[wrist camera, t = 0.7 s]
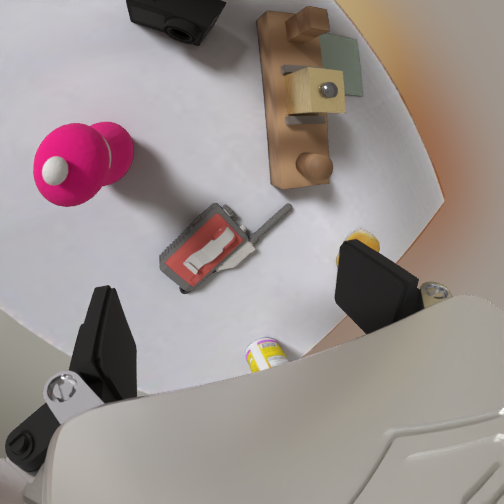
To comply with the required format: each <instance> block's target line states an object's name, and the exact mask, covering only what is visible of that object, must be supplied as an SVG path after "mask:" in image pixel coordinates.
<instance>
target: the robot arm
mask: <svg viewBox="0 0 504 504" xmlns="http://www.w3.org/2000/svg"><path fill="white" fill-rule="evenodd" d="M418 281H419V279H418V278H417V277H415V276H413V275H412V274H411V273H409V272H408V271H406V270H405V269H403V268H401V267H400V266H399V265H397V264H395V263H394V262H392V261H391V260H389V259H388V258H386V257H385V256H383V255H382V254H380V253H378V252H377V251H375V250H374V249H372V248H370V247H369V246H367V245H366V244H364V243H362V242H361V241H359V240H357V239H352V240H347V241H344V242H343V244H342V245H341V246H340V251H339V262H338V272H337V281H336V290H335V301H336V303H337V305H338V306H339V307H340V308H341V309H342V310H343V311H344V312H345V313H346V314H347V315H348V316H349V317H350V318H352V320H353V321H354V322H355V323H356V324H357V325H358V326H359V327H360V328H361V329H362V330H363V331H364V332H365V333H366V335H364V336H361V337H359V338H356V339H354V340H351V341H348V342H346V343H343V344H341V345H338V346H335V347H333V348H330V349H327V350H324V351H321V352H318V353H315V354H313V355H310V356H307V357H304V358H301V359H297V360H294V361H291V362H288V363H285V364H281V365H278V366H275V367H271V368H268V369H264V370H261V371H257V372H254V373H250V374H246V375H242V376H238V377H234V378H230V379H226V380H222V381H218V382H213V383H209V384H204V385H200V386H195V387H190V388H185V389H179V390H174V391H168V392H162V393H157V394H152V395H146V396H141V397H137V374H136V355H137V350H136V344H135V341H134V339H133V336H132V333H131V331H130V328H129V326H128V323H127V320H126V318H125V315H124V312H123V309H122V306H121V303H120V300H119V297H118V294H117V291H116V289H115V288H112V289H111V287H110V286H109V285H107V286H102V287H96V288H95V289H94V292H93V295H92V298H91V302H90V305H89V308H88V311H87V315H86V318H85V321H84V324H81V326H80V329H79V332H78V336H77V339H76V343H75V347H74V351H73V355H72V359H71V363H70V367H69V371H61V372H58V373H56V374H54V375H53V376H51V377H50V378H49V379H48V380H47V382H46V384H45V386H44V389H43V396H44V399H45V401H46V403H45V404H44V405H43V406H41V407H40V408H39V409H38V410H37V411H35V412H34V413H33V414H32V415H31V416H29V417H28V418H27V419H26V420H25V421H24V422H22V423H21V424H20V425H19V426H18V427H16V429H14V430H13V431H12V432H11V433H10V434H9V436H8V438H7V440H6V444H5V450H6V454H7V458H6V460H4V459H3V458H1V460H0V504H504V312H503V311H501V310H500V309H499V308H497V307H496V306H494V305H493V304H492V303H490V302H488V301H487V300H485V299H483V298H481V297H479V296H471V295H466V296H457V297H452V294H451V292H450V290H449V289H448V288H447V287H446V286H444V285H442V284H439V283H436V282H425V283H423V284H422V285H421V287H420V290H419V289H418V288H417V285H418Z"/></svg>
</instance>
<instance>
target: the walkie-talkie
mask: <svg viewBox="0 0 504 504" xmlns="http://www.w3.org/2000/svg"><path fill="white" fill-rule="evenodd" d="M291 209H292V205H291V204H289V203H288V204H286V205H285V206H284V207H283V208H282V209H280V210H279V211H278V212H277V213H276V214H275V215H274V216H273V217H272V218H270V219H269V220H268V221H267V222H266V223H265V224H264V225H263V226H262V227H260V228H259V229H258V230H257V231H256V232H255V233H252V234H251V235H250V236H249V237H247V235H246V234H245V233H246V232H245V231H246V230H247V229H246V228H245V227H244V226H243V225H241V226H238V225H237V224H236V223H235V222H234V221H233V220H232V219H231V217H232V218H234V217H235V214H234V213H233V211H232V210H231V209H230V208H229V207H228V206H227V205H226V204H225V205H224V206H223V209H222V208H221V207H220V206H219V205H218V204H217V203H214V204H212V205H211V206H210V207H209V208H208V209H207V210H205V211H204V212H203V213H202V214H201V215H200V216H199V217H198V218H197V219H196V220H195V221H194V222H193V223H192V224H191V225H190V227H189V228H187V229H186V230H184V232H183V233H181V235H180V236H178V238H177V239H175V241H173V243H172V244H170V246H169V247H167V249H166V250H164V252H162V254H161V255H159V262H160V270H161V271H162V272H163V273H164V274H165V275H167V276H168V277H169V278H170V279H171V280H173V281H174V282H175V283H176V284H178V285H179V286H180V291H181V293H182V294H187V293H189V292H191V291H192V290H193V289H195V288H196V287H197V286H198V285H199V284H200V283H202V281H204V279H205V278H207V277H208V276H209V275H210V274H211V273H214V272H215V271H217V272H219V271H220V270H223V269H229V268H234V267H236V266H237V265H238V264H239V263H240V262H241V261H242V260H243V259H244V258H246V257H247V256H248V255H249V254H250V253H253V252H254V251H255V250H256V249H255V248H254V247H253V245H254V244H255V243H256V242H257V241H258V240H259V238H260V237H261V236H262V235H263V234H265V233H266V232H267V231H268V230H269V229H270V228H271V227H272V226H273V225H274V224H276V223H277V222H278V221H279V220H280V219H281V218H282V217H283V216H284V215H286V214H287V213H288V212H289V211H290V210H291ZM183 289H184V290H183Z"/></svg>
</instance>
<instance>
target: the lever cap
mask: <svg viewBox="0 0 504 504" xmlns="http://www.w3.org/2000/svg"><path fill="white" fill-rule="evenodd" d="M284 83H285V94H286V106H287V114H331V113H346V106H345V92H344V80H343V71H338V70H331V69H322V68H312V67H307V68H304V69H301V70H299V71H296V72H293V73H291V74H288V75H285V76H284Z"/></svg>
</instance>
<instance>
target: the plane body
mask: <svg viewBox="0 0 504 504" xmlns="http://www.w3.org/2000/svg"><path fill="white" fill-rule="evenodd" d="M256 23H257V32H258V41H259V51H260V61H261V71H262V82H263V93H264V104H265V116H266V128H267V140H268V153H269V167H270V181H271V184H272V185H274V186H276V187H278V188H280V189H289V188H297V187H304V186H312V185H320V184H329V177H330V175H331V174H332V171H333V164H332V161H331V159H330V158H329V151H328V128H327V114H287V106H286V94H285V83H284V76H285V75H288V74H291V73H293V72H296V71H299V70H301V69H304V68H307V67H312V68H322V69H323V64H322V55H321V47H320V39H319V36H320V35H322V34H324V33H327V32H329V31H330V26H329V19H328V13H327V9H322V8H317V7H312V6H307V7H305V8H304V9H303V10H301V11H300V12H298V13H297V14H292V13H284V12H274V11H266V12H265V13H264V14H263V15H262V16H261V17H260V18H259V19H258V20H257V21H256Z"/></svg>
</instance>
